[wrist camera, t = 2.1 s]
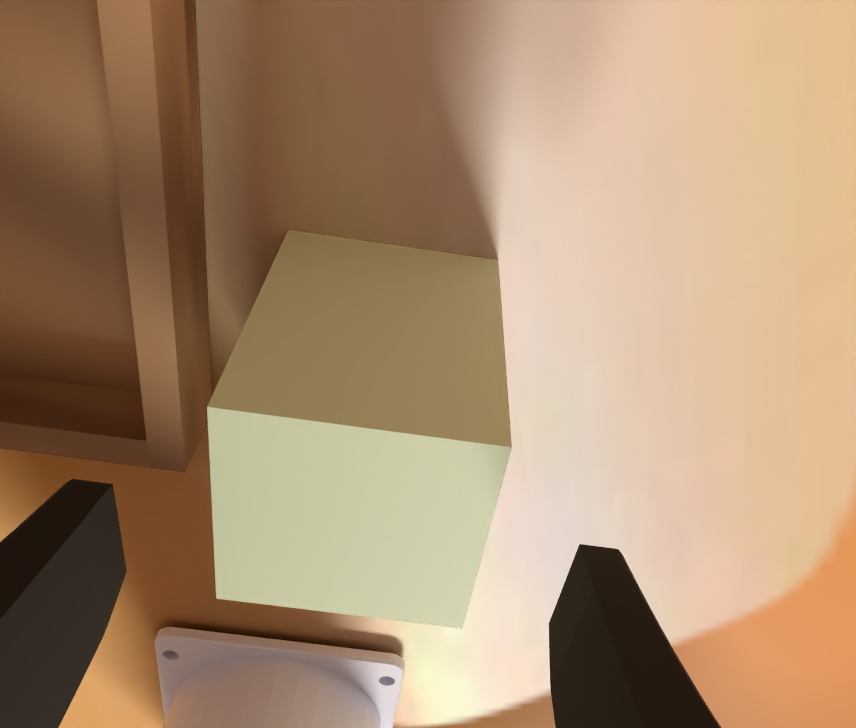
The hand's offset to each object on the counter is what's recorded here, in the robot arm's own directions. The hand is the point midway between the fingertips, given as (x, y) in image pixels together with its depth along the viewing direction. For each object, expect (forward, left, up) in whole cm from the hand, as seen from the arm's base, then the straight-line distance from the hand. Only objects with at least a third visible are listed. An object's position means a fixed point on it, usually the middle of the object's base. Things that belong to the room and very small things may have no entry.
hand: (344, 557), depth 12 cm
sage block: (0, 0, -7) cm, 7 cm away
